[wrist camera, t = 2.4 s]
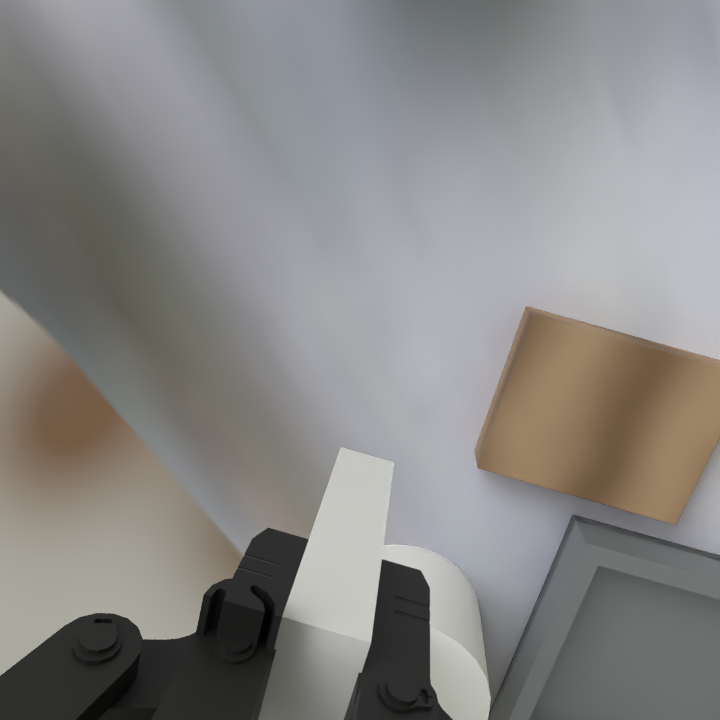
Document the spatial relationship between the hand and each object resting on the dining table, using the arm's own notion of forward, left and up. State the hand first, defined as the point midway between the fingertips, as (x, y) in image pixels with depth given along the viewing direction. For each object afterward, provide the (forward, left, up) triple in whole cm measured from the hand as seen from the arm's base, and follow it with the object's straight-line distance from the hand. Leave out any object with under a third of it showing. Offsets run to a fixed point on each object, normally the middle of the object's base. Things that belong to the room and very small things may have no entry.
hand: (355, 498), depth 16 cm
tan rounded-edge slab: (+11, 0, -15) cm, 18 cm away
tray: (+19, -13, -14) cm, 28 cm away
